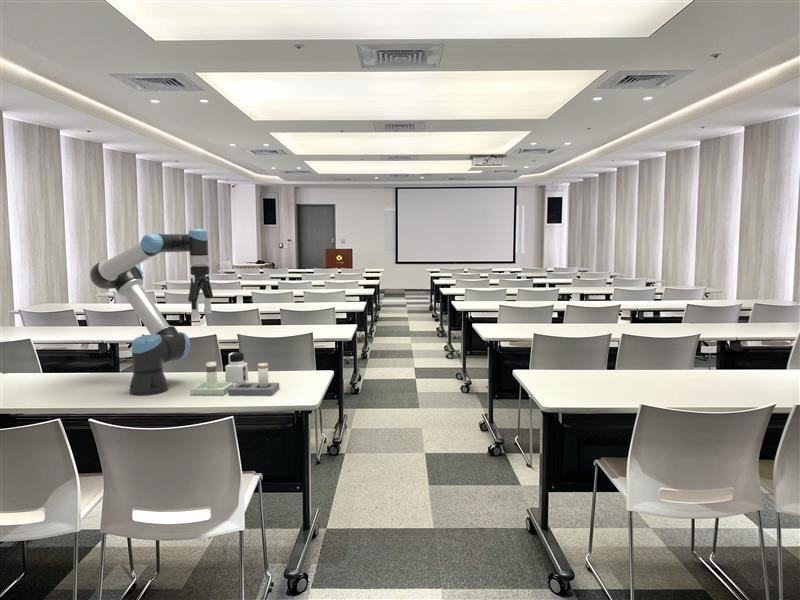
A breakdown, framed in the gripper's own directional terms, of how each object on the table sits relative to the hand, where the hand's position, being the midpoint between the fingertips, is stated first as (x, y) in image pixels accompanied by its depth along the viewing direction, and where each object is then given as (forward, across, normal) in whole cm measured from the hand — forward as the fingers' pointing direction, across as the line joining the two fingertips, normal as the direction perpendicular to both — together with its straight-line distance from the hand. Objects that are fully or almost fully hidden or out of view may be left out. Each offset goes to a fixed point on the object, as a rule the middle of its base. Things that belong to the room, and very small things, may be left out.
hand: (201, 315), depth 250 cm
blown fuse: (+31, -7, -6) cm, 33 cm away
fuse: (+32, -7, -28) cm, 43 cm away
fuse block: (+32, -7, -24) cm, 40 cm away
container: (+32, +12, -10) cm, 36 cm away
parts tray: (+32, -7, -6) cm, 33 cm away
